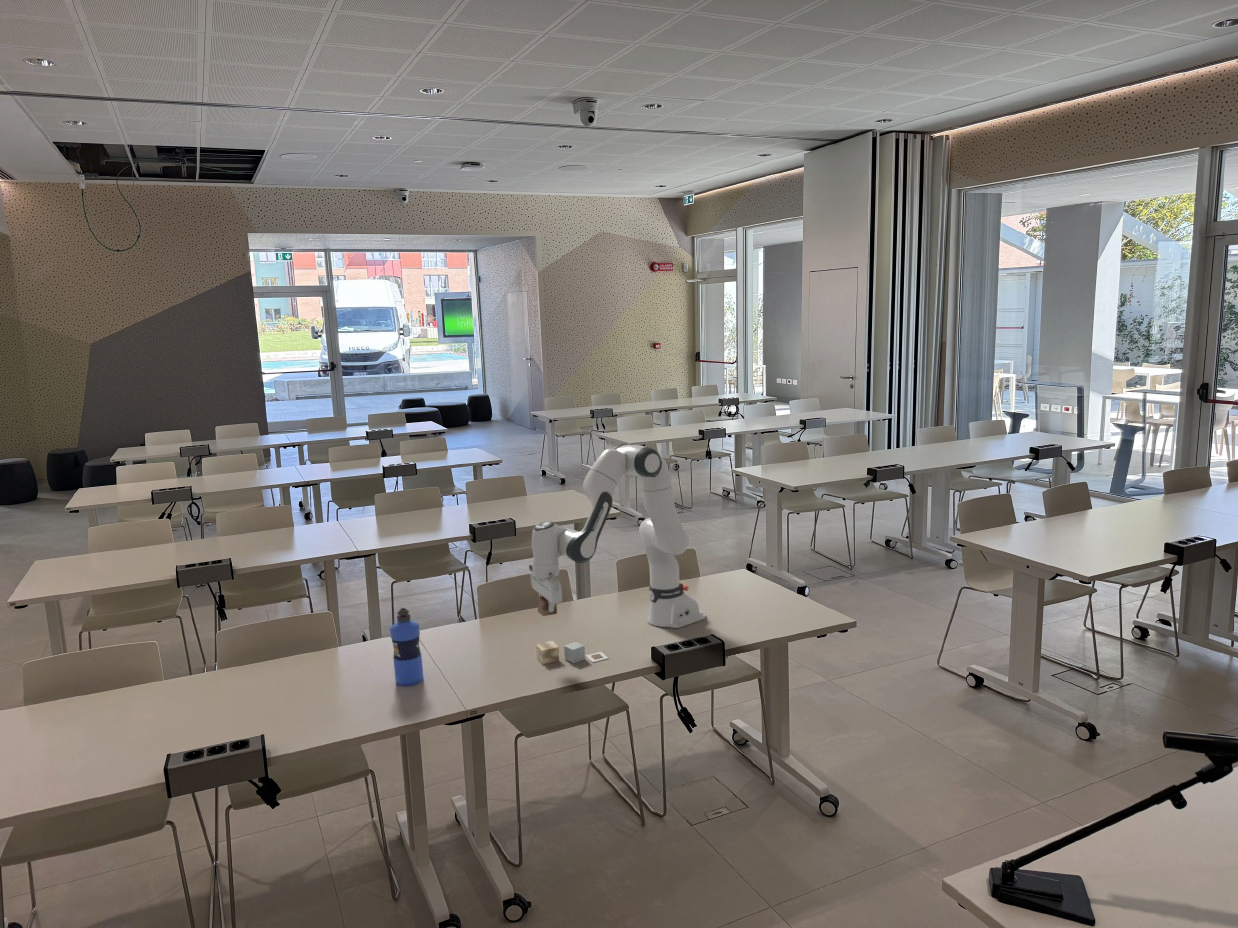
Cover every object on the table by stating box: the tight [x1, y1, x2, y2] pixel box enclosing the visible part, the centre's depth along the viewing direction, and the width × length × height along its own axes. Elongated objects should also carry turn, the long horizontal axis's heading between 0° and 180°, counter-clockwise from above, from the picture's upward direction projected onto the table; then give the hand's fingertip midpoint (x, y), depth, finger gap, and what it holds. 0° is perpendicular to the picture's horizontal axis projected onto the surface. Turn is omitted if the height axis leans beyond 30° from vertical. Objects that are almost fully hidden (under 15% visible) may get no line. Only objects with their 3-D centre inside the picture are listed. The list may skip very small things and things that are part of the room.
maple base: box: [536, 640, 560, 665], centre depth 293 cm, size 6×6×5 cm
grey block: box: [563, 641, 586, 664], centre depth 292 cm, size 5×5×5 cm
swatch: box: [585, 651, 609, 664], centre depth 293 cm, size 6×6×1 cm
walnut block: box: [537, 597, 558, 617], centre depth 290 cm, size 5×5×5 cm
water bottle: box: [389, 607, 424, 687], centre depth 279 cm, size 9×9×25 cm
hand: (547, 608), depth 291 cm, fingers closed on walnut block, 5 cm apart
